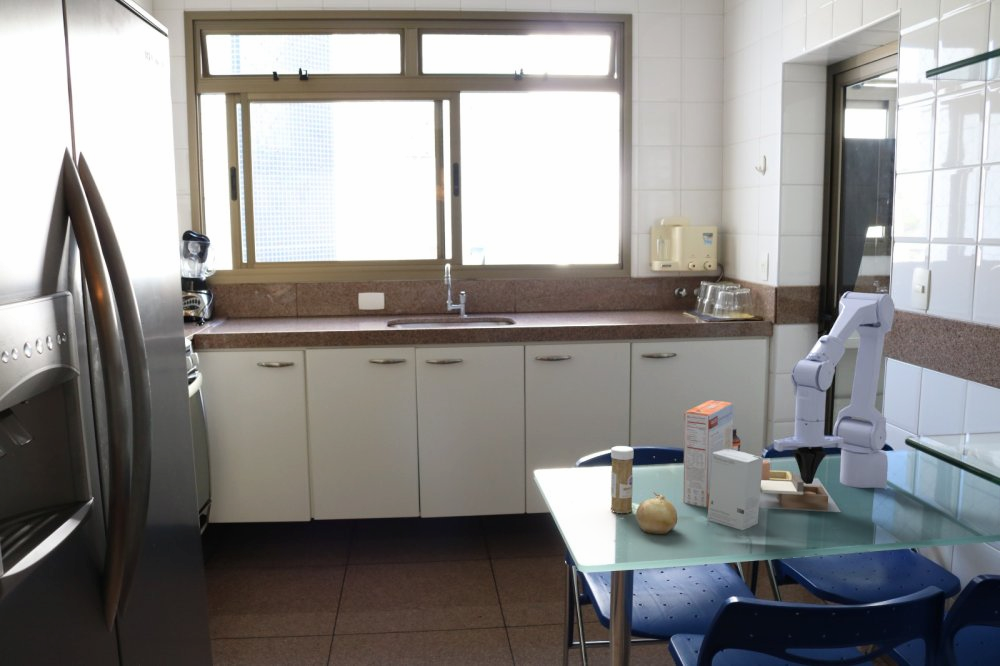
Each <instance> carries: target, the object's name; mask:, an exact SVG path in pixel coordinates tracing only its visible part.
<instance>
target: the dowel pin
mask: <svg viewBox="0 0 1000 666" xmlns="http://www.w3.org/2000/svg"><path fill="white" fill-rule="evenodd" d="M770 470H771V462H770V461H769V460H764V459H763V466H762V478H761V480H769V481H770ZM760 491H762V490H760Z"/></svg>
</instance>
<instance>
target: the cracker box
mask: <svg viewBox="0 0 1000 666" xmlns="http://www.w3.org/2000/svg"><path fill="white" fill-rule="evenodd" d="M683 415H684V416H683V417H684V421H683V422H684V423H683V426H684V427H683V430H684V432H683V433H684V434H683V435H684V436H683V437H684V438H683V498H682V499H683V504H687V505H693V506H698V507H703V508H707V509H708V506H709V494H710V481H711V469H712V457H713V453H714V452H717V451H721V450H724V449H731V450H732V438H733V427H734V426H733V425H734V402H728V401H722V400H712V399H710V400H707V401H704V402H703V403H701V404H699V405H697V406H695V407H693V408H690V409H688V410H686V411H684V413H683Z"/></svg>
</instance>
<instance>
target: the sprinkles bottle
mask: <svg viewBox="0 0 1000 666" xmlns="http://www.w3.org/2000/svg"><path fill="white" fill-rule="evenodd" d="M610 453H611V454H610V457H611V476H610V477H611V478H610V479H611V481H610V482H611V484H610V492H611V493H610V496H611V500H610V501H611V504H610V505H611V507H610V511H611V510H612V511H614V512H617V513H616V514H618V513H627V514H630V513H629V512H631V511H632V512H633V487H634V486H633V481H634V480H633V479H634V478H633V460H634V449H633V447H630V446H626V445H616V446H613V447H611V452H610ZM612 511H611V512H612ZM614 512H613V513H614ZM632 512H631V513H632Z"/></svg>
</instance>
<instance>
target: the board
mask: <svg viewBox="0 0 1000 666" xmlns="http://www.w3.org/2000/svg"><path fill="white" fill-rule="evenodd" d="M791 479H792V473H791V472H790V471H789V470H771V469H770V481H791ZM804 485H816V486H822V488H823V489H824V491H825V492H826V494H827V495H828V510H808V509H789V508H781V506H780V504H779V502H778V500H777V498H776V494H777V493H762V491H760V501H759V509H768V510H769V509H772V510H773V509H774V510H775V509H776V510H787V511H789V510H790V511H791V510H793V511H809V512H810V511H812V512H829V513H841V512H842V511H841V510H840V509H839V507H838V506H837V503H836V502H835V501H834V499H833V498H832V497H831V495H830V494H829V492H828V491H827V489H826V488H825V486H824V485H823V483H822V482H821V480H820V479H819V478H817V477H814V479H813V482H812V484H805V483H804Z"/></svg>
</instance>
